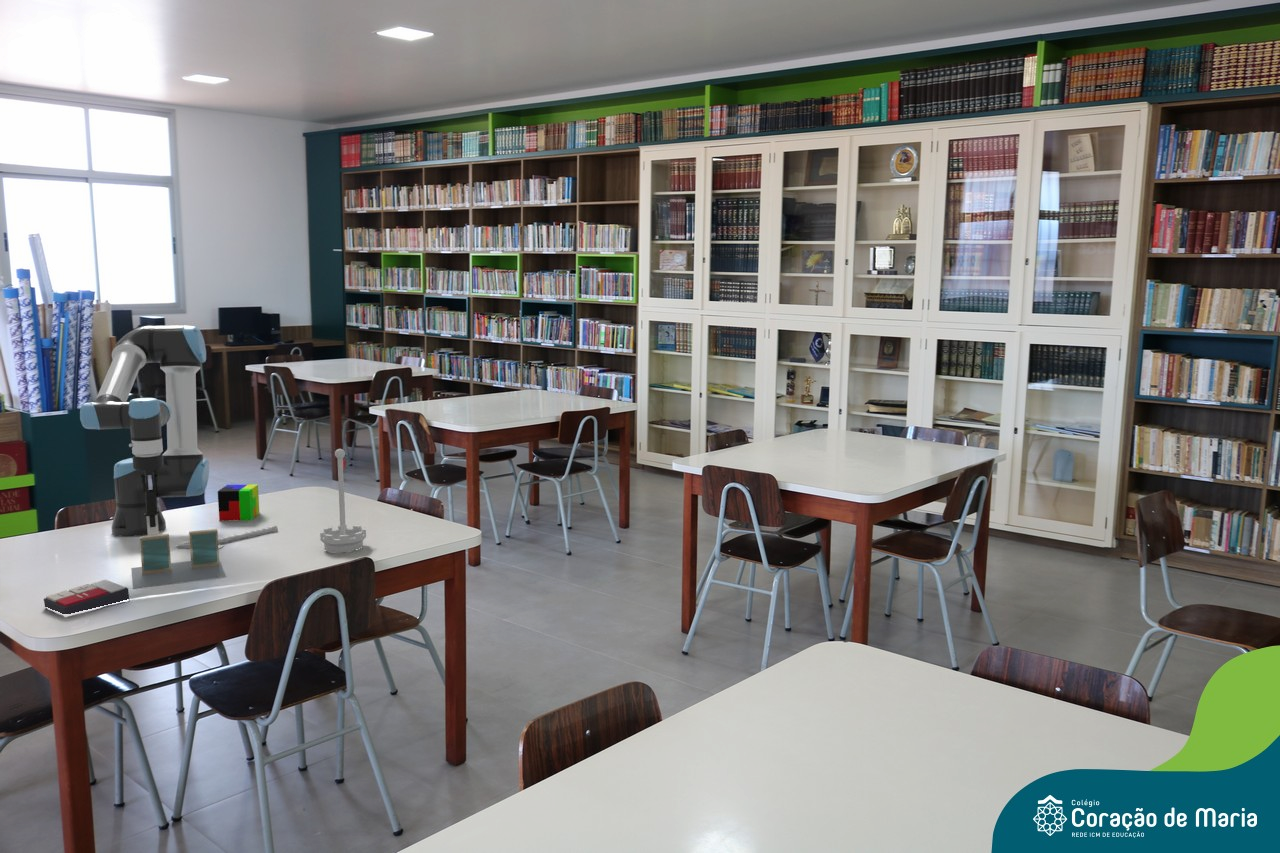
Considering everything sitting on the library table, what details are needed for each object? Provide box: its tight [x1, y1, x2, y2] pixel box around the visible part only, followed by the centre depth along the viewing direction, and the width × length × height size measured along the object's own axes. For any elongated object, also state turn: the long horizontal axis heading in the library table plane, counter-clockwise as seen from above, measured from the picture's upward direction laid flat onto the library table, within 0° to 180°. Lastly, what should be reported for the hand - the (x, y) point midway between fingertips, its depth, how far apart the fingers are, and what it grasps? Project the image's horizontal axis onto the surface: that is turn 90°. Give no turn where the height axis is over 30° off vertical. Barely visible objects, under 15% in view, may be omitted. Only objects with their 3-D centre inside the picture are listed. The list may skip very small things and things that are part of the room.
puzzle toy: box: [217, 483, 260, 522], centre depth 317 cm, size 10×10×10 cm
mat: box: [130, 559, 227, 590], centre depth 256 cm, size 20×22×1 cm
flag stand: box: [319, 448, 367, 554], centre depth 281 cm, size 13×13×30 cm
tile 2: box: [188, 528, 220, 568], centre depth 261 cm, size 2×7×10 cm, turn 119°
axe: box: [175, 524, 279, 550], centre depth 289 cm, size 30×14×2 cm, turn 145°
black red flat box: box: [43, 579, 130, 614], centre depth 232 cm, size 11×4×15 cm
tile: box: [139, 533, 172, 575], centre depth 255 cm, size 2×7×10 cm, turn 119°
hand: (153, 537), depth 265 cm, fingers closed
